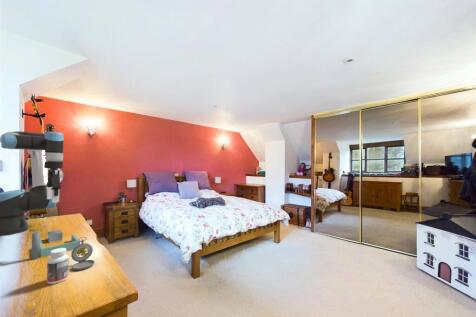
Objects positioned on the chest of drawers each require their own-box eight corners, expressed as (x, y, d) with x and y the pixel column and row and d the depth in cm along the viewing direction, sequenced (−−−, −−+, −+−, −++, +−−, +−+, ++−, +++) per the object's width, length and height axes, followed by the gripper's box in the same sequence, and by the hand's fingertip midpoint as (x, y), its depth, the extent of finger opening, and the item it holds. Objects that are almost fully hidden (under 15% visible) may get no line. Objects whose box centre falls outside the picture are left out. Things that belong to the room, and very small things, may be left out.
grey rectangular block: (47, 239, 106) (47, 232, 106) (60, 237, 109) (60, 229, 109) (49, 243, 101) (49, 235, 101) (62, 240, 105) (62, 232, 105)
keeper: (29, 249, 93) (30, 227, 93) (73, 240, 104) (74, 220, 105) (31, 260, 83) (32, 234, 83) (80, 248, 94) (80, 226, 94)
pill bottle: (42, 282, 67) (43, 251, 67) (62, 274, 72) (62, 245, 72) (53, 286, 65) (53, 254, 65) (72, 277, 70) (72, 248, 70)
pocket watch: (82, 271, 73) (83, 243, 74) (63, 269, 75) (64, 241, 75) (102, 261, 81) (102, 235, 82) (84, 259, 83) (84, 234, 83)
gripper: (40, 160, 116) (39, 198, 116) (49, 160, 100) (47, 204, 100) (57, 160, 122) (56, 196, 122) (68, 161, 106) (67, 202, 106)
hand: (52, 200), depth 111 cm, fingers open, 13 cm apart
